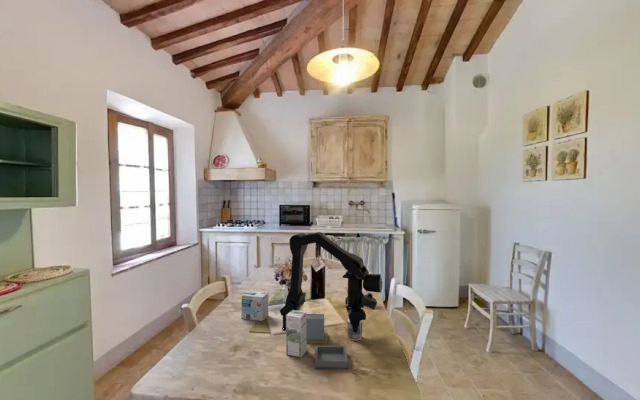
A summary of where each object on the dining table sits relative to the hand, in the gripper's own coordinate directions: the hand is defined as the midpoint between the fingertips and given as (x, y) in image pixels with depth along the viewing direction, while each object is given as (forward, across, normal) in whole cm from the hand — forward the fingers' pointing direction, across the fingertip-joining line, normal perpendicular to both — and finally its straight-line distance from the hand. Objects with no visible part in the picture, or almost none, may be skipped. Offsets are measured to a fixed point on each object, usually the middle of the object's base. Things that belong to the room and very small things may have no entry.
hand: (354, 329), depth 130 cm
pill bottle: (+4, 0, 0) cm, 4 cm away
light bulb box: (+4, +21, +43) cm, 48 cm away
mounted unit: (+4, -1, +16) cm, 16 cm away
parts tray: (+4, -17, +10) cm, 20 cm away
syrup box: (+4, -12, +22) cm, 25 cm away
